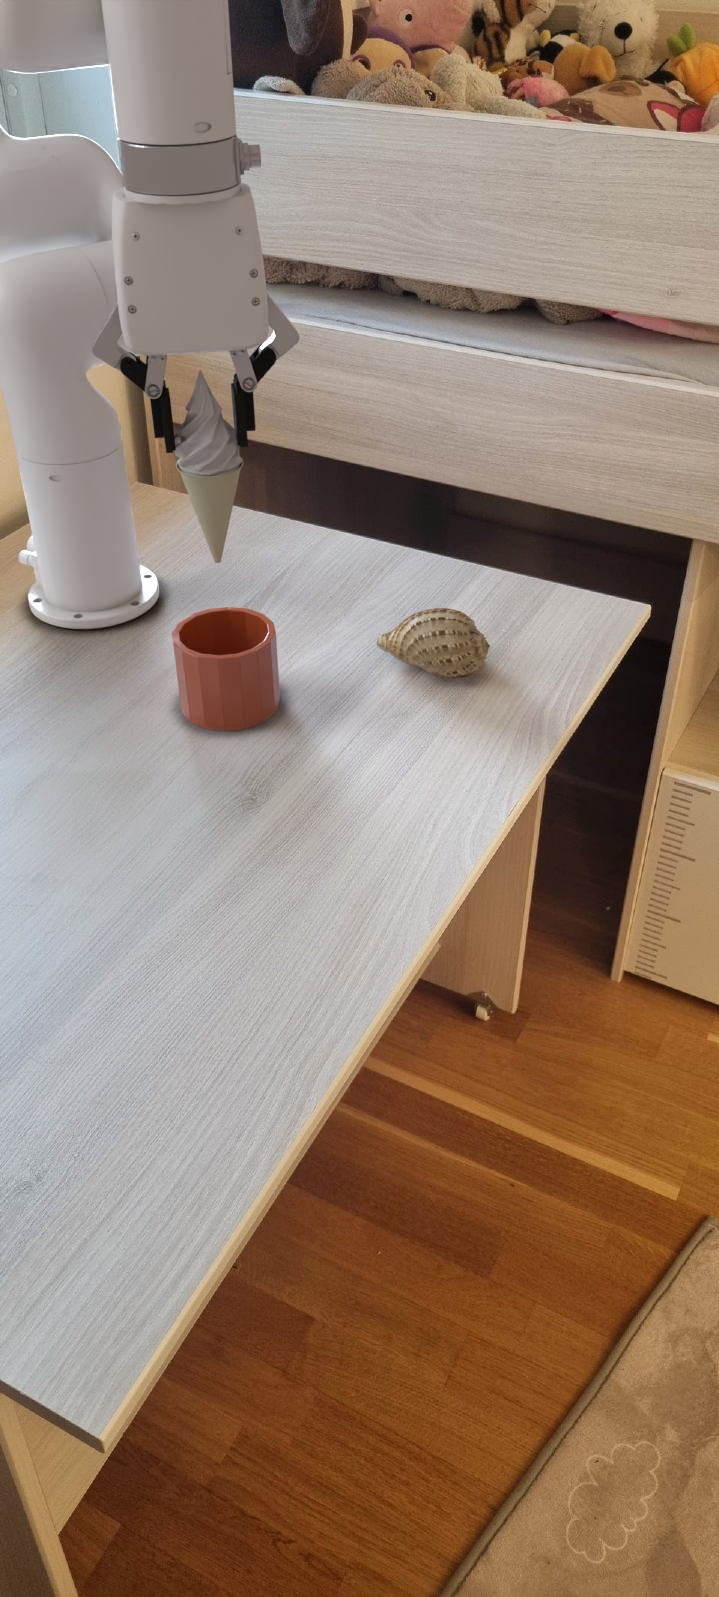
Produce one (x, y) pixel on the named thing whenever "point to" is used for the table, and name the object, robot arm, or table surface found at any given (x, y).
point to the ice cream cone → (209, 464)
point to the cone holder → (227, 668)
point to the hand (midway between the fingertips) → (205, 440)
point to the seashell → (438, 643)
